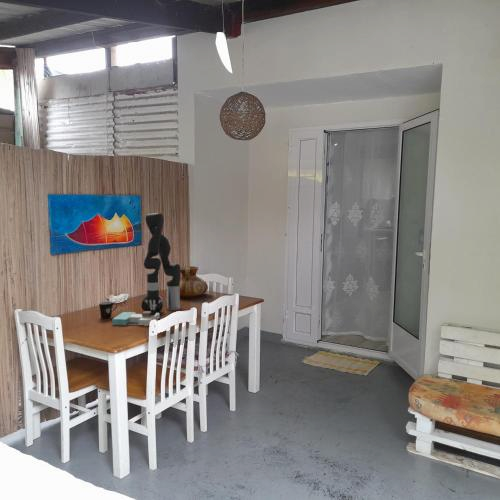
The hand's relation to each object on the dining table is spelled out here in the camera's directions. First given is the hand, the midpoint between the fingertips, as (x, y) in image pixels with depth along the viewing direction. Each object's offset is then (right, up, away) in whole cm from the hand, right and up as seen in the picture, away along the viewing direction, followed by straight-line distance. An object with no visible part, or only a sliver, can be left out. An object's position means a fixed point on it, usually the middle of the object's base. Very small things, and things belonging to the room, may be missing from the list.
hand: (153, 315), depth 291 cm
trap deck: (-11, -4, +2) cm, 12 cm away
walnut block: (-4, -1, +1) cm, 4 cm away
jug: (+12, +4, +80) cm, 81 cm away
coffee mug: (-33, -3, +12) cm, 35 cm away
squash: (-6, -2, +25) cm, 26 cm away
